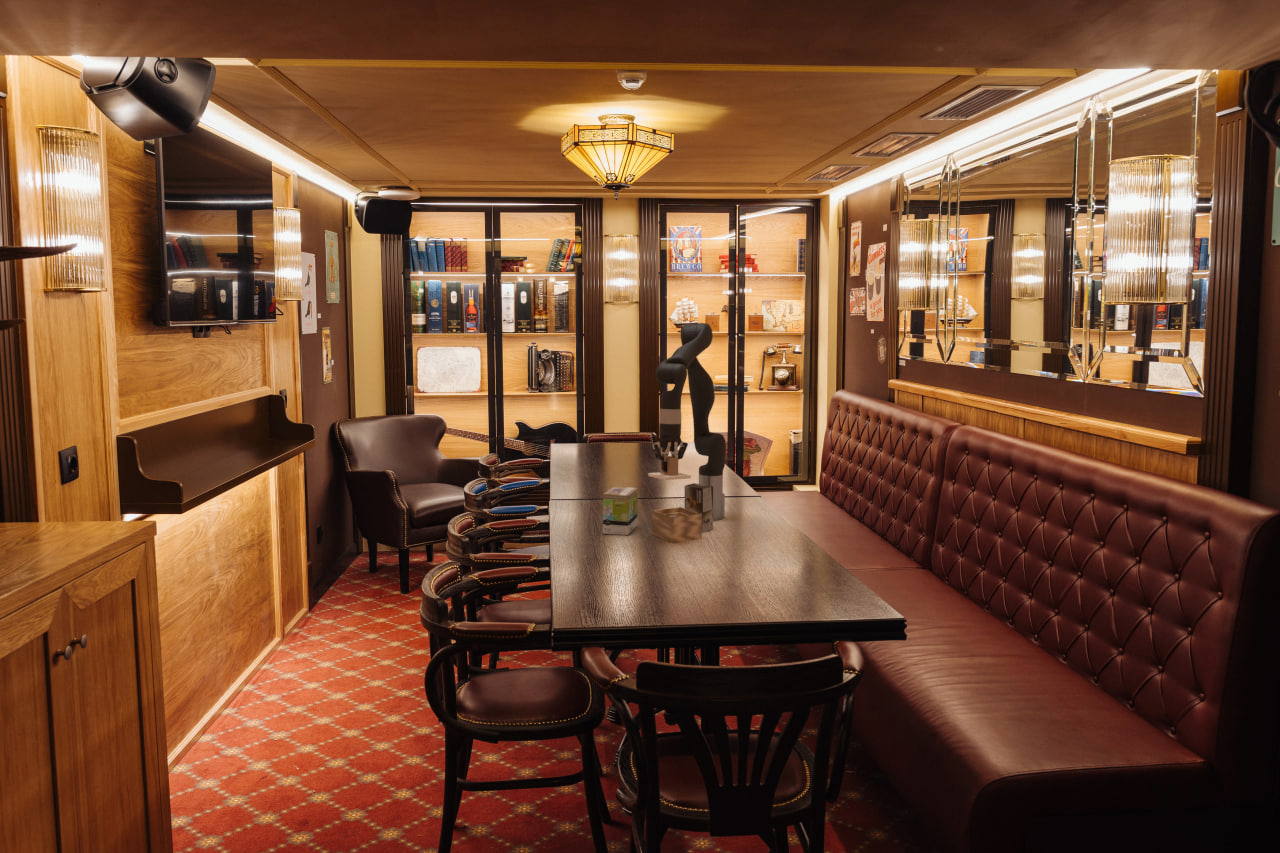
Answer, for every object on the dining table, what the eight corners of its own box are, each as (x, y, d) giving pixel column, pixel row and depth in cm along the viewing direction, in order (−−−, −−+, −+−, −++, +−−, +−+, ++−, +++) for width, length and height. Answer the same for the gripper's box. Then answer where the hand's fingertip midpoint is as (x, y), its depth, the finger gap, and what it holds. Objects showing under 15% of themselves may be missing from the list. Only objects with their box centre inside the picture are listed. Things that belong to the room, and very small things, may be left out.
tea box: (629, 535, 313) (629, 494, 311) (602, 534, 315) (601, 493, 313) (638, 525, 328) (638, 486, 326) (611, 524, 330) (611, 485, 328)
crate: (680, 530, 321) (681, 507, 320) (701, 538, 309) (701, 514, 308) (652, 534, 315) (652, 510, 314) (672, 542, 303) (672, 518, 302)
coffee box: (713, 529, 323) (714, 486, 321) (702, 532, 318) (703, 488, 316) (694, 525, 329) (694, 482, 327) (683, 528, 324) (683, 485, 322)
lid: (672, 474, 312) (673, 454, 312) (690, 478, 302) (690, 457, 301) (648, 476, 307) (648, 456, 307) (665, 480, 297) (665, 459, 296)
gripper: (682, 420, 309) (680, 469, 311) (647, 421, 302) (646, 471, 304) (693, 422, 303) (692, 472, 304) (657, 423, 296) (656, 474, 298)
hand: (669, 471), depth 304 cm, fingers closed on lid, 3 cm apart
